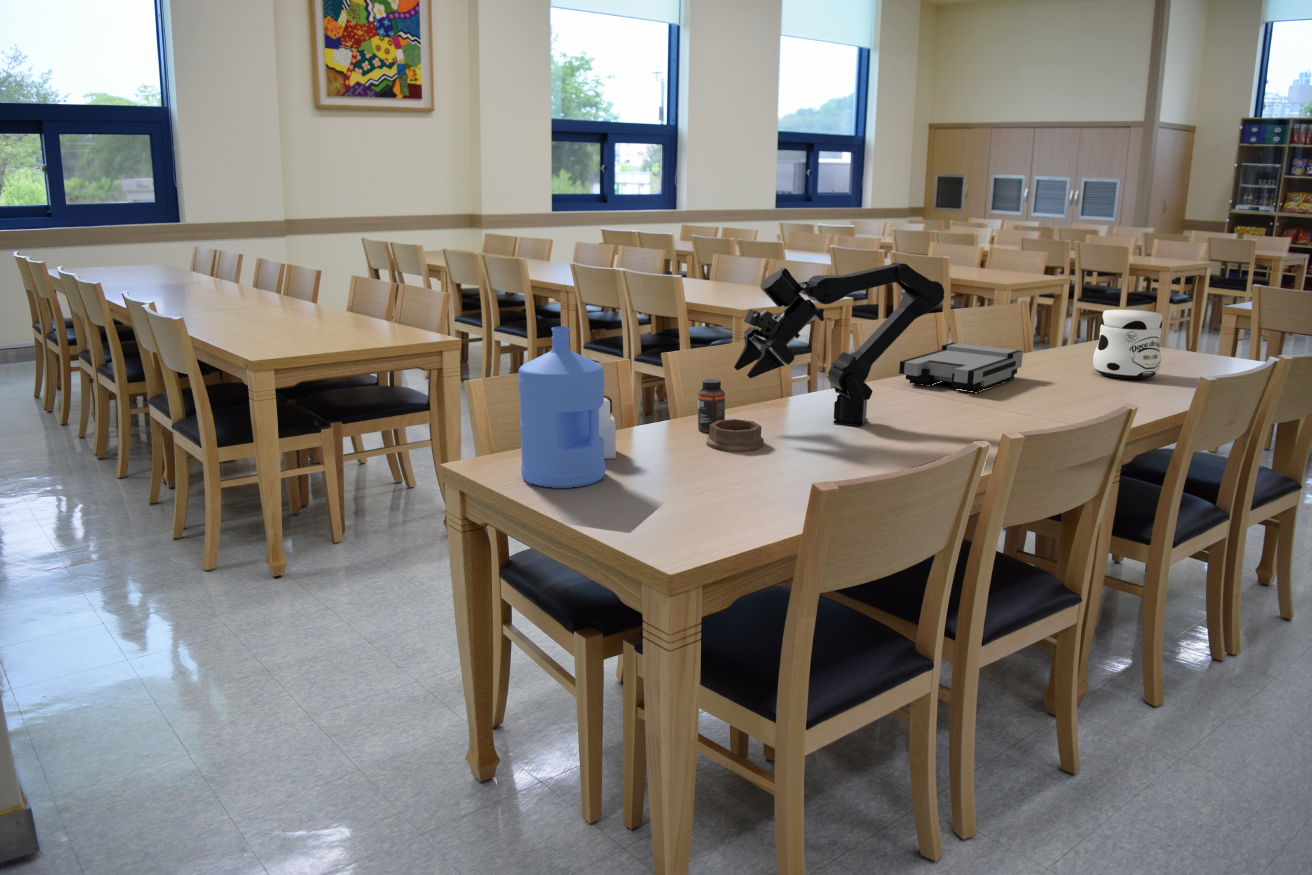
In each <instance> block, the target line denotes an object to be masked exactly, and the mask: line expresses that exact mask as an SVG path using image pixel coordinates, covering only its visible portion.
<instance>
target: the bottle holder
mask: <svg viewBox="0 0 1312 875" xmlns="http://www.w3.org/2000/svg"><path fill="white" fill-rule="evenodd" d="M764 441H765V440H764V438H763V437H762V425H760V424H759V423H757V422H755V421H754V420H747V419H746V420H744V419H737V418H734V419H733V418H732V419H725V420H719V421H716V422H714V423H712V424H710V425H709V433H708V436H707V437H706V446H708V447H709V448H711V449H715V450H718V451H723V452H734V453H735V452H737V453H738V452H739V453H740V452H741V453H742V452H751V451H756V450H759V449H761V448H763V447H764V443H765V442H764Z"/></svg>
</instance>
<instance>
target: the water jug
mask: <svg viewBox="0 0 1312 875" xmlns="http://www.w3.org/2000/svg"><path fill="white" fill-rule="evenodd" d="M551 331H552V336H551V341H552V342H551V344H552V345H551V346H552V347H551V349H550V351H548V352H546V353H544V354H542V355H540V356H538V357H536V358H534V359H532V360H530V361H528V362H526V363H524V364H522V365H521V366H520V367H519V369H518V380H517V385H518V386H517V387H518V391H519V414H520V415H519V435H520V443H521V444H520V449H521V465H520V472H521V477H522V479H523V480H524V481H526V483H529V484H531V483H532V484H531V485H533V484H535V485H534V486H536V485H539V486H538V487H541V486H545V487H544V488H547V487H552V488H551V489H570V488H571V489H572V487H575V488H581V487H585V486H590V485H592V484H595V483H597V482H599V481H600V480H602V479H603V478H604V477H605V475H606V462H605V459H604V439H603V437H601V436H600V435H599V408H600V407H601V406H602V405H603V403H604V396H605V395H604V394H605V375H604V366H602V365H601V363H598V362H596V361H594V360H592V359H590V358H588V357H585V356H583V355H581V354H579V353H577V352H575V351H573V350H571V348H570V336H569V332H570V327H567V326H553V327H551Z"/></svg>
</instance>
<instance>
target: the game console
mask: <svg viewBox="0 0 1312 875" xmlns="http://www.w3.org/2000/svg"><path fill="white" fill-rule="evenodd" d="M1023 352H1024V351H1023V350H1020V349H1019V350H1018V349H1009V348H1003V347H1000V348H999V347H993V346H986V345H976V344H967V343H966V344H965V343H959V342H950V343H946V344H942V345H941V349H939V350H936V351H933V352H928V353H925V354H922V355H917V356H914V357H911V358H906V359H905V360H901V361H899V368H898V374H899V375H900V374H901V375H905V380H908V381H909V384H910V383H914V384H913V385H917V384H923V385H932V384H934V383H937V382H940V381H945V382H948V383H949V382H950V383H951V387H954V390H955V389H962V390H967V391H973V392H979V391H981V390H983V389H987V388H990V387H993V386H995V385H998V384H1001V383H1003V382H1006V381H1009V380H1011V379H1014V380H1015V375H1016V374H1018V369H1019V368H1022V365H1023V364H1022V363H1023V355H1024V353H1023ZM1011 381H1012V380H1011ZM1009 382H1010V381H1009ZM1006 383H1007V382H1006ZM1003 384H1004V383H1003ZM923 385H922V386H923ZM1001 385H1002V384H1001ZM998 386H999V385H998ZM995 387H996V386H995ZM993 388H994V387H993ZM990 389H991V388H990ZM987 390H988V389H987ZM979 393H980V392H979Z"/></svg>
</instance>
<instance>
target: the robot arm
mask: <svg viewBox="0 0 1312 875" xmlns="http://www.w3.org/2000/svg"><path fill="white" fill-rule="evenodd" d="M808 279H809V280H808V281H807V280H806V281H801V282H800V281H799V282H798V281H797V280H796V279H795V277H793V275H792V273H790V270H788V269H787V268H786V267H781V268H780V269H779V270H777V271H775V272H774V273H772V274H771V275H770V276H767V277H766V278H765V279H764V280H763V282H762V283H761V285H760V289H761V290H762V292H764V294H765V295H766V296H767V297H768V298H769V299H770V300H771V301H772V303H774V305H775V306H776V307H778V308H781V307H784V308H785V309H784V310H783V311H782V312H781V313H780V314H773V313H772V312H770V311H768V310H765V309H764V310H762V311H761V312H759V311H757V310H755V309H752V308H749V309H748V311H747V314H746V316H745V318H744V320H743V322H745V323H746V324H748V325H751V326H749V327H748V328H747V329H745V331H744V332H743V339H744V347H743V349H742V351H741V353H740V355H739V357H738V358H737V360H736V362H735V365H734V367H733V368H734V369H735V370H736V371H739V370H741V369H743V368H745V367H747V366H748V365H750V364H752V363H754V362H755V363H754V364H753V365H752V366H751V368H750V370H749V371H748V372H747V375H746V376H747V377H748V379H753V378H756V377H758V376H760V375H763V374H765V373H767V372H771V371H773V370H776V369H778V368H782V367H785V365H786V366H789V365H791V363H793V361H794V360H795V352H794V351H793V350H792V349H791V348H790V346H788V345H789V343H790V342H791V341H792V340H793V339H796V340H798V339H799V337H801V334H800V332H801V331H802V330H803V329H804V328H805V327H806V326H807V325H808V324H809V323H810V321H812V320H813V319H815V320H817V321H820V322H824V320H825V317H824V311H825V309H824V308H821V307H817V306H816V305H815V304H814V302H815V303H818V304H822V305H831V304H834V303H835V302H838V301H840V300H842V299H844V298H846V297H847V296H848V295H850V294H853V293H856V292H860V291H864V290H869V289H873V288H878V287H881V286H885V285H890V284H894V283H895V284H897V285H898V287H900V289H902V290H903V291H904V292H903V294H902V296H901V300H900V303H899V305H898V306H897V308H896V309H895V310H894V311H893V312H892V313H891V314H890V315H889V316H888V317H887V318H886V319H885V320H884V321H883V323H881V324H880V326H878V327H877V328H876V330H874V332H873V333H872V334H871V335H870V336H869V337H868V338H867V339H866V340H865V342H863V343H862V344H861V346H859V348H858V349H857V350H855V351H854V352H852V353H848V352H845V351H843V352H841V353H840V354H839V355H838V358H836V360H834V361H833V362H831V363H830V365H831V367H830V368H829V370H828V372H827V374H828V376H827V378H828V381H829V383H830V385H831V386H832V387H833V389H834V393H836V394H838V395H837V396H836V397H837V398H836V400H835V401H834V403H833V405H834V408H833V422H832V423H833V424H837V425H845V426H854V427H862V426H864V425H865V424H866V423H867V422H868V421H869V418H867V410H868V409H867V408H868V401H869V400H871V396H872V394H873V392H874V391H873V389H872V388H871V387H870V386H869V385H868V384H867V383H866V382H865V381H866V380H867V378H868V377H869V374H870V371H871V369H872V366H873V364H874V363H875V362H876V361H877V360H878V359H880V357H881V356H882V355H883V354H884V353H885V352H886V350H888V349H889V347H890V346H891V345H893V343H894V342H895V341H896V340H897V339H898V338H899V337H900V336H901V335H902V334H903V333H904V332H905V330H907V329H908V328H909V327H910V326H911V324H912V323H914V322H915V320H917V319H918V318H920V317H922V316H925V315H926V314H928V313H930V312H931V311H933V310H934V309H935V308H937V306H939V305H940V304H941V303H942V302H943V301H944V299H945V288H944V287H943V285H942V283H941V282H939V281H935V280H931V279H929V278H927V277H926V276H924V275H923V274H921V273H920V272H918V271H916V270H914V269H913V268H912V267H910V266H909V265H908V264H907V263H904V262H899V261H898V262H897V261H895V262H892V263H890V264H886V265H882V266H877V267H873V268H869V269H865V270H861V271H860V270H859V271H857V272H853V273H852V272H851V273H847V274H820V275H819V274H818V275H813V276H811V277H810V278H808ZM802 295H804V296H807V298H808V299H806V298H804V297H803V296H802Z"/></svg>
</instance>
